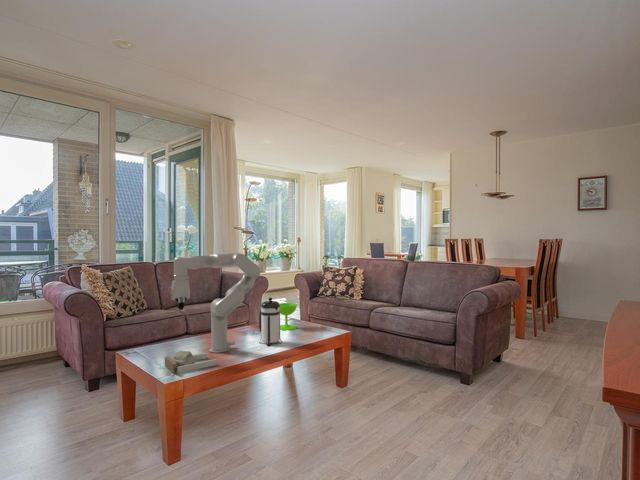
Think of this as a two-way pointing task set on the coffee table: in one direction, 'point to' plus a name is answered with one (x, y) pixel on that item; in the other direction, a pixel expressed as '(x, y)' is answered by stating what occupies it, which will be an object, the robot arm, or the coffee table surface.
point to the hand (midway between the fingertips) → (180, 309)
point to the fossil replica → (184, 358)
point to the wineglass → (287, 310)
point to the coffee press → (270, 322)
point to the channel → (172, 365)
